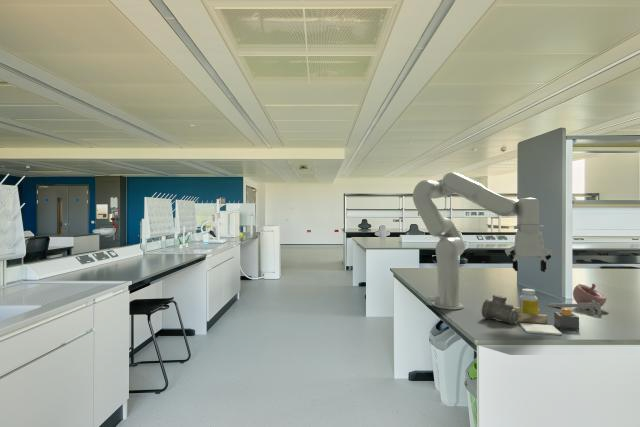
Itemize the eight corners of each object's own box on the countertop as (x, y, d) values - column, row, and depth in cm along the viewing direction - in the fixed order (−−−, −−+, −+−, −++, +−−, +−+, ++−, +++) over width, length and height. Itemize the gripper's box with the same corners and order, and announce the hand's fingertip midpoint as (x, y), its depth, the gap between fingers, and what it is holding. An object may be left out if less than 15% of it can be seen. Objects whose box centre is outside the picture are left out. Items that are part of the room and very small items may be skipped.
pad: (526, 332, 129) (526, 330, 129) (519, 324, 139) (519, 322, 139) (562, 335, 126) (562, 333, 126) (552, 326, 136) (552, 325, 136)
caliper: (601, 316, 151) (600, 300, 151) (599, 316, 151) (599, 301, 151) (548, 305, 169) (547, 292, 169) (546, 306, 168) (546, 292, 168)
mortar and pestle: (602, 313, 154) (602, 286, 154) (569, 308, 163) (569, 282, 163) (609, 309, 162) (609, 283, 162) (577, 304, 171) (577, 279, 171)
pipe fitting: (478, 318, 146) (482, 293, 146) (489, 316, 151) (493, 292, 150) (508, 329, 136) (512, 302, 136) (519, 326, 141) (523, 301, 141)
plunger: (563, 323, 133) (563, 309, 133) (560, 321, 136) (560, 307, 136) (572, 324, 132) (572, 310, 132) (569, 321, 135) (569, 308, 135)
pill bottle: (540, 321, 143) (540, 291, 143) (522, 320, 144) (522, 291, 144) (534, 316, 149) (534, 288, 149) (517, 316, 151) (517, 288, 151)
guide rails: (518, 321, 143) (518, 313, 143) (512, 314, 153) (512, 307, 153) (547, 323, 140) (547, 315, 140) (538, 316, 151) (538, 308, 151)
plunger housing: (559, 329, 132) (559, 315, 132) (554, 325, 138) (554, 311, 138) (579, 331, 131) (579, 317, 131) (572, 326, 136) (572, 312, 136)
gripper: (506, 229, 146) (507, 271, 146) (556, 228, 141) (556, 273, 141) (503, 228, 153) (503, 269, 153) (549, 228, 148) (550, 270, 148)
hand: (529, 271), depth 147 cm, fingers open, 9 cm apart
